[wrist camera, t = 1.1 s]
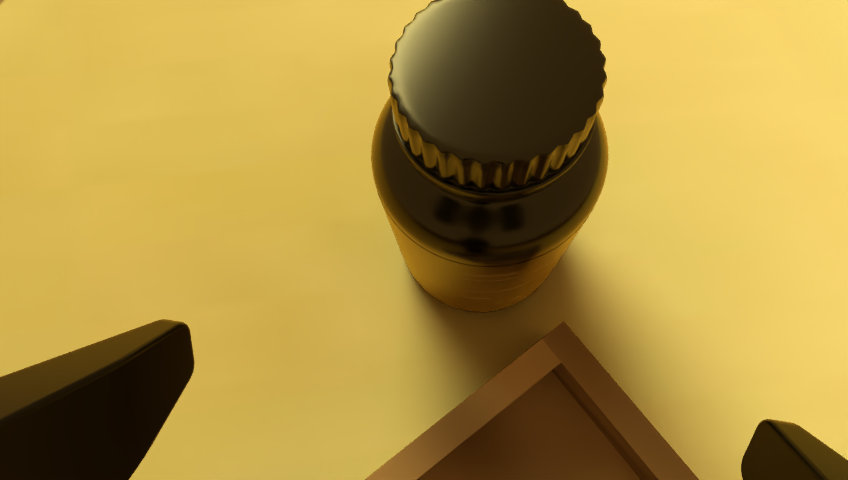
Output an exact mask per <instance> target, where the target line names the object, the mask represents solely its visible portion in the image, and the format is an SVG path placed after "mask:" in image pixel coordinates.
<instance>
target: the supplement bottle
mask: <svg viewBox="0 0 848 480" xmlns="http://www.w3.org/2000/svg"><path fill="white" fill-rule="evenodd" d="M600 48H601V43H600V40H599V39H598V38H597V37H596V36H595V35H594V34H593V32H592V27H591V25H590V24H588V23H587V22H586V21H584V20H582V18H581V16H580V14H579V12H578V11H576V10H574V9H572V8H570V7H568V6H567V4H566V3H565V2H564V1H563V0H434V1H431V3H430V4H429V5H428V6H427V8H426V9H424V10H422V11H420V12H418V13H416V15H415V17H414V19H413V21H412V22H410V23H409V24H408V25H406V26H405V27H404V31H403V35H402V36H401V38H399V39H398V40H397V41H396V43H395V53H394V54H393V55H392V57H391V59H390V69H391V71H390V74H389V76H388V86H389V90H390V94H391V96H390V98H389V99H388V101H387V102H386V104H385V106H384V108H383V110H382V112H381V114H380V116H379V119H378V121H377V124H376V127H375V131H374V135H373V141H372V151H371V161H372V170H373V176H374V181H375V185H376V188H377V191H378V195H379V197H380V200H381V202H382V205H383V207H384V210H385V212H386V215H387V217H388V220H389V222H390V225H391V228H392V230H393V233H394V235H395V238H396V240H397V243H398V245H399V248H400V250H401V253H402V255H403V257H404V260H405V262H406V264H407V266H408V268H409V270H410V272H411V274H412V275H413V277H414V278H415V279H416V281H417V282H418V283H419V284H420V285H421V287H423V288H424V289H425V290H426V291H427V292H428V293H429V294H430V295H432V296H433V297H434V298H436V299H437V300H439V301H441V302H443V303H445V304H447V305H449V306H452V307H455V308H458V309H462V310H467V311H476V312H485V311H494V310H499V309H503V308H506V307H509V306H511V305H514V304H516V303H518V302H520V301H521V300H523V299H525V298H526V297H527V296H529V295H530V294H531V293H533V292H534V291H535V290H536V289H537V288H538V287H539V286H540V285H541V284H542V283H543V281H544V280H545V279H546V278H547V276H548V275H549V274H550V272H551V271H552V269H553V268H554V266H555V265H556V263H557V262H558V261H559V259H560V258H561V256H562V255H563V253H564V252H565V250H566V249H567V247H568V246H569V245H570V243H571V242H572V240H573V239H574V237H575V236H576V234H577V233H578V231H579V230H580V228H581V227H582V225H583V224H584V223H585V221H586V220H587V218H588V216H589V215H590V213H591V211H592V210H593V208H594V206H595V204H596V202H597V200H598V198H599V196H600V194H601V191H602V188H603V185H604V182H605V178H606V174H607V166H608V143H607V136H606V132H605V128H604V124H603V122H602V119H601V116H600V114H599V112H598V111H599V109H600V106H601V104H602V102H603V98H604V93H603V89H604V87H605V84H606V81H607V76H606V72H605V71H604V67H605V63H606V58H605V56H604V54H603V53H602V52H601V50H600Z"/></svg>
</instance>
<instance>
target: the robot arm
mask: <svg viewBox="0 0 848 480" xmlns="http://www.w3.org/2000/svg"><path fill="white" fill-rule="evenodd" d="M193 370H194V356H193V349H192V342H191V335H190V329H189V327H188V325H187V324H185V323H183V322H178V321H172V320H165V319H163V320H158V321H155V322H152V323H150V324H147V325H144V326H141V327H138V328H136V329H133V330H130V331H127V332H125V333H122V334H119V335H116V336H113V337H111V338H108V339H105V340H102V341H100V342H97V343H94V344H91V345H88V346H86V347H83V348H80V349H77V350H75V351H72V352H69V353H66V354H63V355H61V356H58V357H55V358H52V359H49V360H47V361H44V362H41V363H38V364H36V365H33V366H30V367H27V368H24V369H22V370H19V371H16V372H13V373H11V374H8V375H5V376H2V377H0V480H129V478H130V477H131V476H132V474H133V473H134V471H135V470H136V468H137V467H138V466H139V464H140V463H141V461H142V460H143V458H144V457H145V455H146V453H147V452H148V450H149V449H150V447H151V445H152V444H153V442H154V440H155V438H156V437H157V435H158V433H159V432H160V430H161V428H162V426H163V425H164V423H165V421H166V420H167V418H168V416H169V414H170V413H171V411H172V409H173V408H174V406H175V404H176V402H177V401H178V399H179V397H180V395H181V394H182V392H183V390H184V389H185V387H186V385H187V383H188V382H189V380H190V378H191V376H192V373H193ZM741 472H742V478H743V480H848V460H847V459H845V458H844V457H842V456H841V455H840V454H838V453H837V452H835V451H834V450H833V449H831V448H830V447H828V446H827V445H826V444H824V443H823V442H821V441H820V440H818V439H817V438H816V437H814V436H813V435H811V434H810V433H809V432H807V431H806V430H804V429H803V428H802V427H800V426H798V425H796V424H794V423H790V422H784V421H778V420H771V419H766V420H763V421H761V422H760V423H759V425H758V426H757V428H756V430H755V433H754V435H753V437H752V439H751V441H750V443H749V446H748V448H747V450H746V452H745V454H744V456H743V459H742V464H741Z"/></svg>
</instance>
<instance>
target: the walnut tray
mask: <svg viewBox="0 0 848 480" xmlns="http://www.w3.org/2000/svg"><path fill="white" fill-rule="evenodd" d="M365 480H699V479H698V478H697V477H696V476H695V474H694V473H693V472H692V471H691V470H690V469H689V467H688V466H687V465H686V464H685V463H684V462H683V460H682V459H681V458H680V457H679V456H678V455H677V453H676V452H675V451H674V450H673V449H672V448H671V446H670V445H669V444H668V443H667V442H666V441H665V439H664V438H663V437H662V436H661V435H660V433H659V432H658V431H657V430H656V429H655V428H654V426H653V425H652V424H651V423H650V422H649V421H648V419H647V418H646V417H645V416H644V415H643V414H642V412H641V411H640V410H639V409H638V408H637V407H636V405H635V404H634V403H633V402H632V401H631V400H630V398H629V397H628V396H627V395H626V394H625V393H624V391H623V390H622V389H621V388H620V387H619V386H618V384H617V383H616V382H615V381H614V380H613V379H612V377H611V376H610V375H609V374H608V373H607V371H606V370H605V369H604V368H603V367H602V366H601V364H600V363H599V362H598V361H597V360H596V359H595V357H594V356H593V355H592V354H591V353H590V352H589V350H588V349H587V348H586V347H585V346H584V345H583V343H582V342H581V341H580V340H579V339H578V338H577V336H576V335H575V334H574V333H573V332H572V331H571V329H570V328H569V327H568V326H567V325H566V324H565V322H562V323H561V324H560V325H559V326H557V327H556V328H555V329H554V330H552V331H551V332H550V333H549V334H547V335H546V336H545V337H544V338H542V339H541V340H540V341H539V342H537V343H536V344H535V345H533V346H532V347H531V348H530V349H528V350H527V351H526V352H525V353H523V354H522V355H521V356H520V357H518V358H517V359H516V360H515V361H513V362H512V363H511V364H510V365H508V366H507V367H506V368H505V369H503V370H502V371H501V372H500V373H498V374H497V375H496V376H495V377H493V378H492V379H491V380H489V381H488V382H487V383H486V384H484V385H483V386H482V387H481V388H479V389H478V390H477V391H476V392H474V393H473V394H472V395H471V396H469V397H468V398H467V399H466V400H464V401H463V402H462V403H461V404H459V405H458V406H457V407H456V408H454V409H453V410H452V411H451V412H449V413H448V414H447V415H445V416H444V417H443V418H442V419H440V420H439V421H438V422H437V423H435V424H434V425H433V426H432V427H430V428H429V429H428V430H427V431H425V432H424V433H423V434H422V435H420V436H419V437H418V438H417V439H415V440H414V441H413V442H412V443H410V444H409V445H408V446H407V447H405V448H404V449H403V450H401V451H400V452H399V453H398V454H396V455H395V456H394V457H393V458H391V459H390V460H389V461H388V462H386V463H385V464H384V465H383V466H381V467H380V468H379V469H378V470H376V471H375V472H374V473H373V474H371V475H370V476H369V477H368V478H366V479H365Z"/></svg>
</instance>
